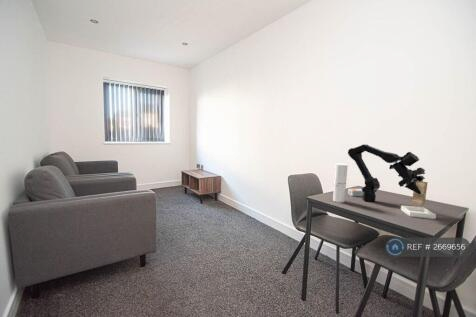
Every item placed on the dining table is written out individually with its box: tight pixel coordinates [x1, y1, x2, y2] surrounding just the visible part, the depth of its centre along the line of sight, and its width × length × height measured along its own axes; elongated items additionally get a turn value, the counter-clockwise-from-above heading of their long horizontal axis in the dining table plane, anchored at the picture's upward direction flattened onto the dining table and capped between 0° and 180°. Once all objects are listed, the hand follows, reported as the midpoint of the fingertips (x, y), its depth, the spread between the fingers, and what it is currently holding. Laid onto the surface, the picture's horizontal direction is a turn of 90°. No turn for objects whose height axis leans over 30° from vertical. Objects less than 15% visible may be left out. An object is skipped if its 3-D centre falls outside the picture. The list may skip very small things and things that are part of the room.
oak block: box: [411, 180, 428, 207], centre depth 128 cm, size 4×4×13 cm
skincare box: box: [347, 188, 364, 197], centre depth 167 cm, size 6×4×12 cm
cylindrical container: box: [332, 162, 349, 203], centre depth 151 cm, size 7×7×25 cm
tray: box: [400, 205, 437, 220], centre depth 130 cm, size 12×12×3 cm
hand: (422, 193), depth 127 cm, fingers closed on oak block, 4 cm apart
